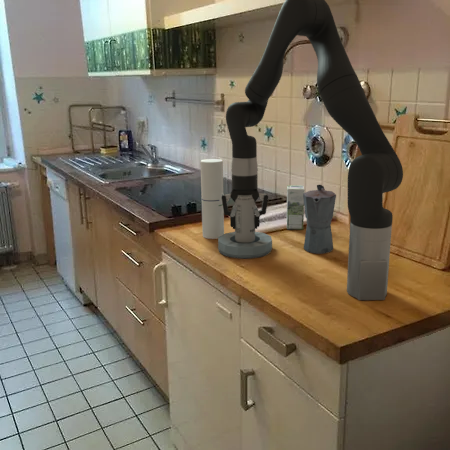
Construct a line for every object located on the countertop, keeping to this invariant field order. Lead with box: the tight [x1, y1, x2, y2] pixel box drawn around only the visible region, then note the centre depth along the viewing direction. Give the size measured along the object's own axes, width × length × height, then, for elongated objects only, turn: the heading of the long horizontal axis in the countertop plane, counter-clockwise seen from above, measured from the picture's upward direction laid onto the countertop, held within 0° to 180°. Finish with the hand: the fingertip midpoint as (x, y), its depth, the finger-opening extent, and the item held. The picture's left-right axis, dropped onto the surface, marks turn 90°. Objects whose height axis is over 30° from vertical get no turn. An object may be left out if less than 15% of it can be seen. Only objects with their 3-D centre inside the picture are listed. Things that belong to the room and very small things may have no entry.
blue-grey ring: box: [217, 231, 273, 260], centre depth 151 cm, size 16×16×4 cm
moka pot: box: [303, 184, 337, 255], centre depth 149 cm, size 10×15×20 cm, turn 166°
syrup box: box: [286, 185, 306, 230], centre depth 171 cm, size 6×6×14 cm
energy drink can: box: [234, 195, 256, 243], centre depth 149 cm, size 6×6×15 cm
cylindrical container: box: [200, 158, 225, 240], centre depth 163 cm, size 7×7×25 cm
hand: (245, 228), depth 150 cm, fingers closed on energy drink can, 6 cm apart
